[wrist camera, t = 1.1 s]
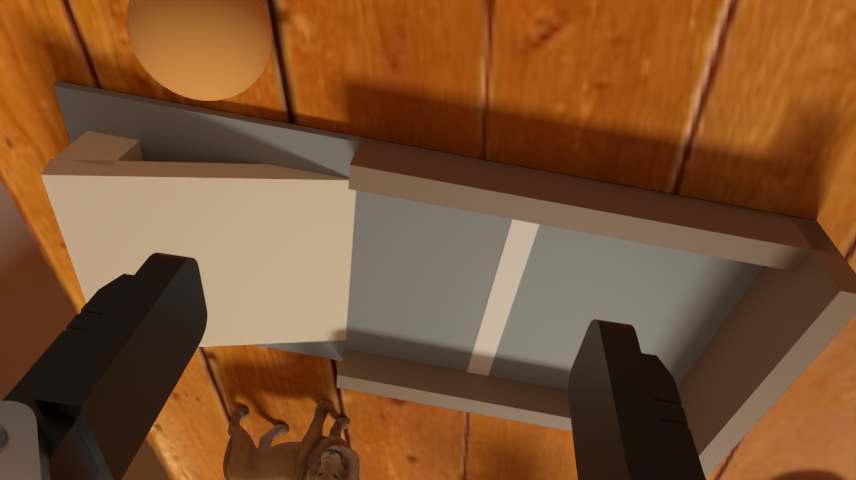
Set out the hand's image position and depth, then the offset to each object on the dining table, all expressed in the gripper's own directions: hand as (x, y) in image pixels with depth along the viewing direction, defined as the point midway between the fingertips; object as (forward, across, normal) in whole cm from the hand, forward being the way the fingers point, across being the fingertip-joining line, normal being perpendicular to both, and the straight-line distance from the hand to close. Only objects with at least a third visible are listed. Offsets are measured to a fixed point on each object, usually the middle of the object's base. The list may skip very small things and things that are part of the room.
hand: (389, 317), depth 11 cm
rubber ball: (+16, +11, 0) cm, 20 cm away
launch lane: (+20, 0, +16) cm, 26 cm away
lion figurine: (+20, +9, +34) cm, 40 cm away
